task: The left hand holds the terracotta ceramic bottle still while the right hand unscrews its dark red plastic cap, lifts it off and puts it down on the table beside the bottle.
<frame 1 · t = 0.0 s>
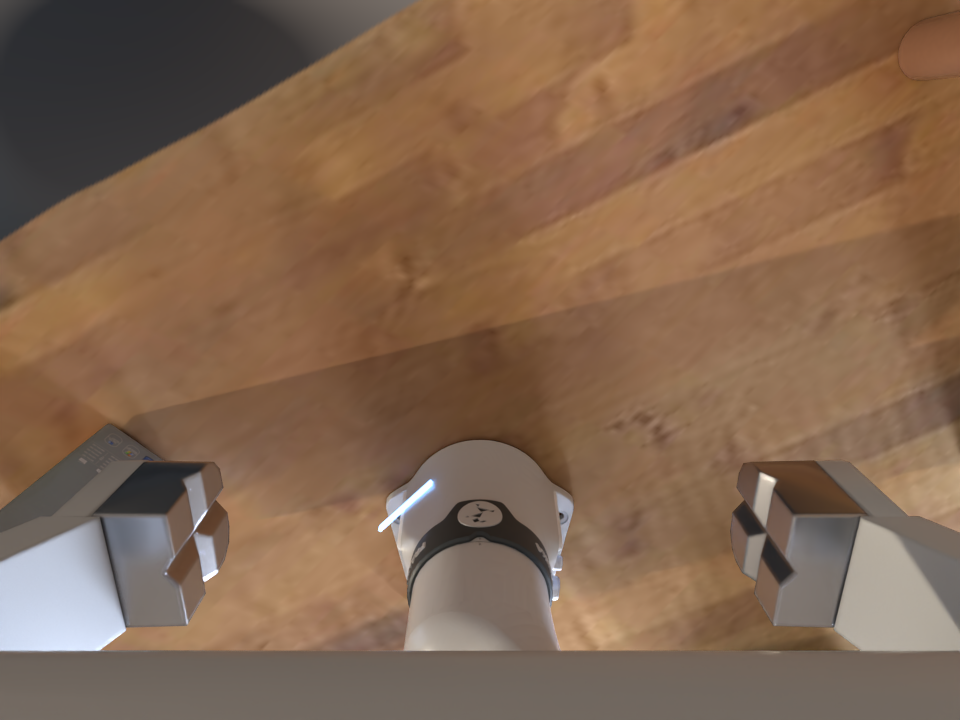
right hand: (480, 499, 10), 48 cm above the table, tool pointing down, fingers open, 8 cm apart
hard drive box: (102, 493, 66), on the table
bottle: (926, 49, 52), on the table
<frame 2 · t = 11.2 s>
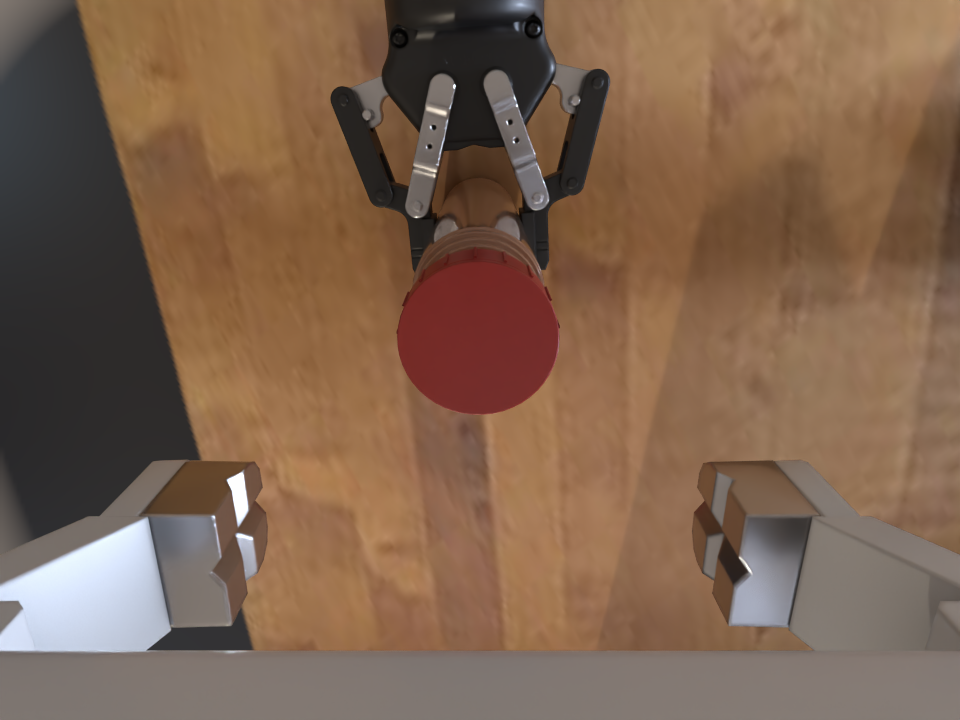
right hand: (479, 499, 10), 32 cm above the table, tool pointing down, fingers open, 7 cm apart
left hand: (482, 279, 36), fingers closed on bottle, 4 cm apart
cap: (478, 338, 18), point 24 cm above the table, screwed on, not yet turned
bottle: (478, 215, 41), on the table, touching left hand
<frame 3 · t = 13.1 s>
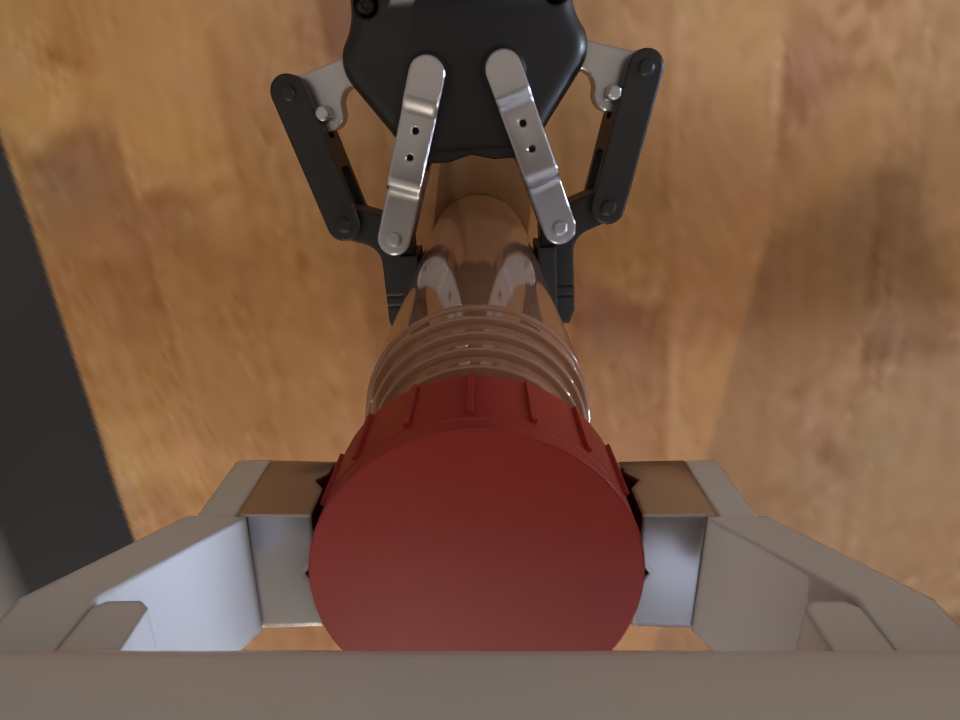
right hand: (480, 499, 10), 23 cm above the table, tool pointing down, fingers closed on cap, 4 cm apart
left hand: (484, 334, 27), fingers closed on bottle, 4 cm apart
cap: (476, 565, 9), point 24 cm above the table, screwed on, not yet turned, touching right hand
bottle: (479, 242, 31), on the table, touching left hand
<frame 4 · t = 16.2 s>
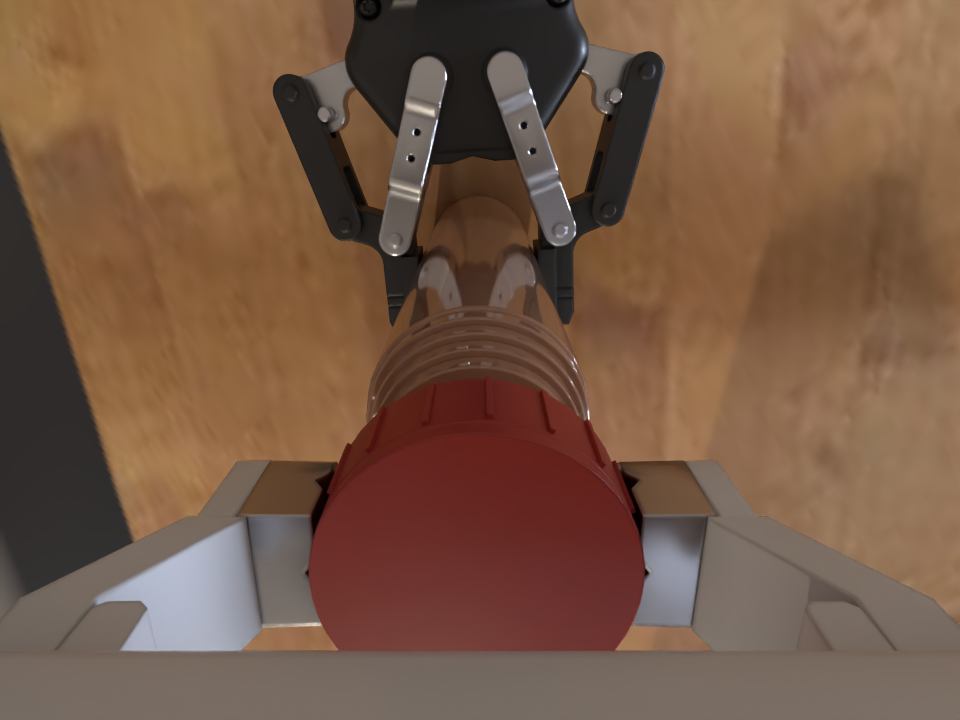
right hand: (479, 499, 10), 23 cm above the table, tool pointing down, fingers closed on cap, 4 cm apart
left hand: (483, 335, 27), fingers closed on bottle, 4 cm apart
cap: (476, 569, 9), point 24 cm above the table, turned 79° so far, risen 0.1 cm, still on its thread, touching right hand
bottle: (479, 243, 32), on the table, touching left hand
when the right hand's fingers open (2 cm above the table, at t = 34.5 s): cap drops 2 cm, point 1 cm above the table.
when the left hand's fingers open (6 cm above the table, at t = 35.6 s): bottle stays where it is, on the table.
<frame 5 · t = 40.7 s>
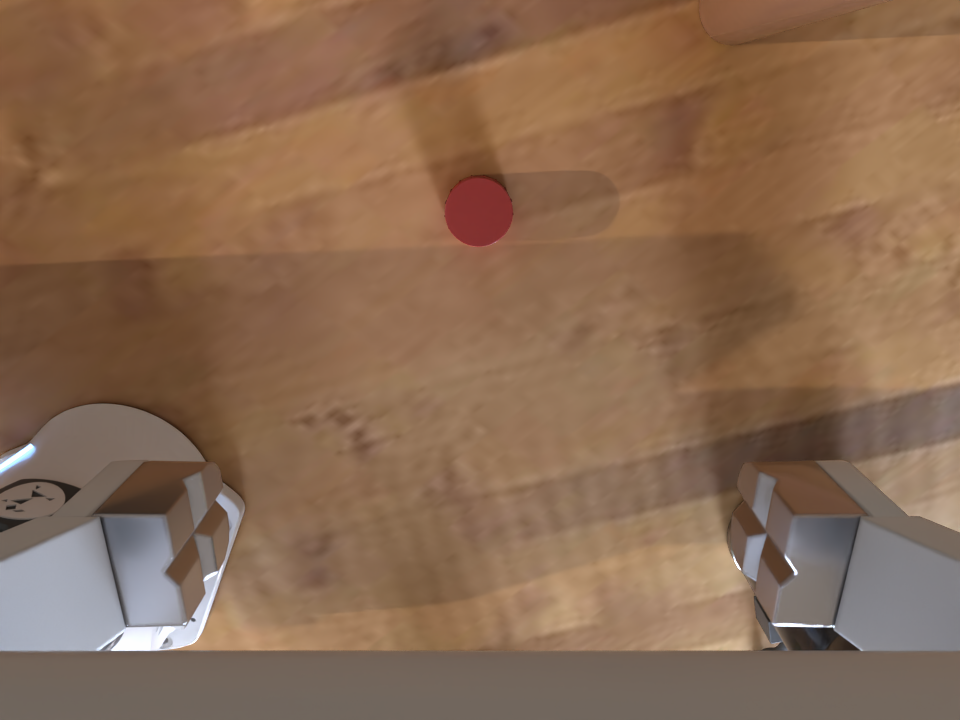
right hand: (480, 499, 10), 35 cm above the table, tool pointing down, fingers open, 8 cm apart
cap: (478, 212, 42), point 1 cm above the table, off its thread
bottle: (736, 3, 39), on the table
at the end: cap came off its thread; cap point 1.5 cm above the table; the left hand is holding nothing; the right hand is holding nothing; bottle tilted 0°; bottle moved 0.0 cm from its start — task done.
